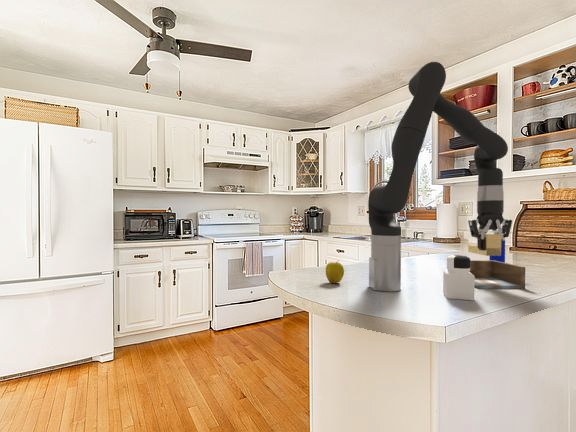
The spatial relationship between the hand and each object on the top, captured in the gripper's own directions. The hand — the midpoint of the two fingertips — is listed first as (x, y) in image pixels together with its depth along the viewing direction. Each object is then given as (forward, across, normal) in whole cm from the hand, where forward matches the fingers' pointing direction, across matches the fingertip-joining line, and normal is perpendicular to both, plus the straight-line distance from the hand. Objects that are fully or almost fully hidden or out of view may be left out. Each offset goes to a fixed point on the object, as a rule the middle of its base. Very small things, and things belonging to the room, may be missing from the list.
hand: (489, 249), depth 108 cm
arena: (+12, -1, -4) cm, 13 cm away
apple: (+12, +52, -4) cm, 53 cm away
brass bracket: (+2, 0, -3) cm, 3 cm away
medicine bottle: (+12, +19, +14) cm, 26 cm away
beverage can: (+13, -15, -18) cm, 27 cm away
